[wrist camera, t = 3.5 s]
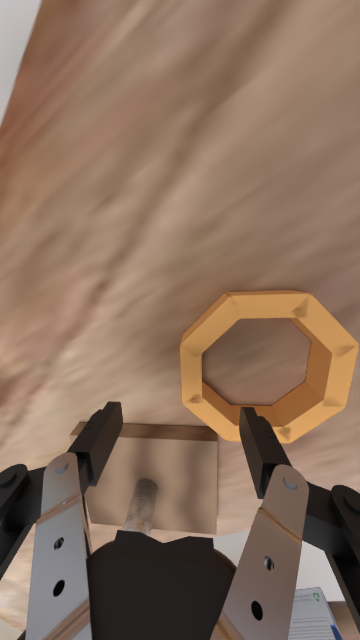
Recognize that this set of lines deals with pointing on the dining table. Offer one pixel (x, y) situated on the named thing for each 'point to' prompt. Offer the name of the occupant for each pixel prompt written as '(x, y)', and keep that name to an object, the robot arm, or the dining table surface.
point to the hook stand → (157, 480)
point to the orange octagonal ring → (301, 403)
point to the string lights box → (312, 617)
